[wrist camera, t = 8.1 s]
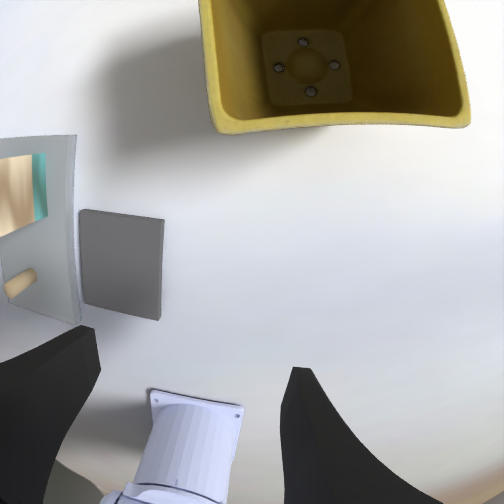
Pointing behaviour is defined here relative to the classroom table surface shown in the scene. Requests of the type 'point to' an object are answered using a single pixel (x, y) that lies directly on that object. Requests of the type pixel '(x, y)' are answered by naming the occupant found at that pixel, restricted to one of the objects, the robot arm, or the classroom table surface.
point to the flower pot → (318, 64)
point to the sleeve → (22, 191)
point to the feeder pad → (122, 262)
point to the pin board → (44, 236)
